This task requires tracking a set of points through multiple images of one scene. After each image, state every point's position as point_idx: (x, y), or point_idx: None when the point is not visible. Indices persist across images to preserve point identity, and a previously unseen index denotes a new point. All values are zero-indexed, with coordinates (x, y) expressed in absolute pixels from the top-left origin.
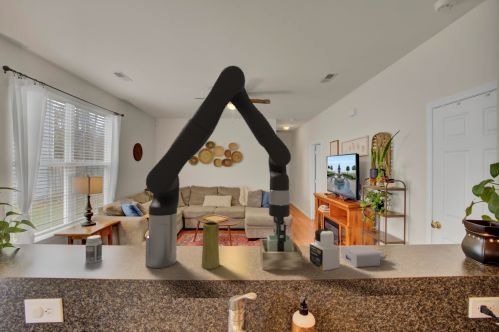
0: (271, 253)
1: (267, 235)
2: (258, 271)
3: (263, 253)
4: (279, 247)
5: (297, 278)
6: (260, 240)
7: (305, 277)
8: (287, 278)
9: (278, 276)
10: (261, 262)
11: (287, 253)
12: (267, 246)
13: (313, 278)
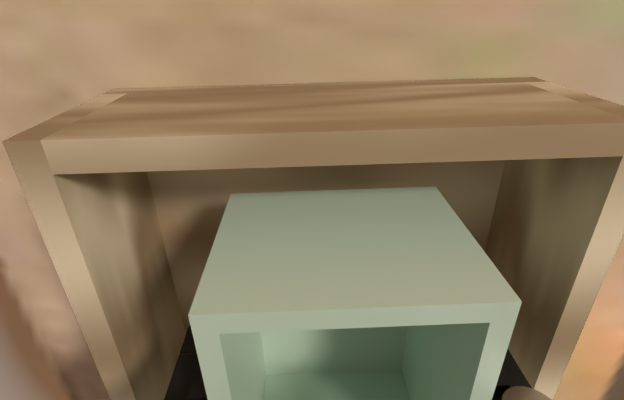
0: (52, 247)
1: (495, 303)
2: (64, 46)
3: (15, 149)
4: (179, 357)
5: (43, 314)
6: (581, 130)
7: (74, 353)
8: (18, 262)
9: (26, 209)
10: (252, 87)
11: (108, 383)
12: (414, 204)
13: (75, 383)
